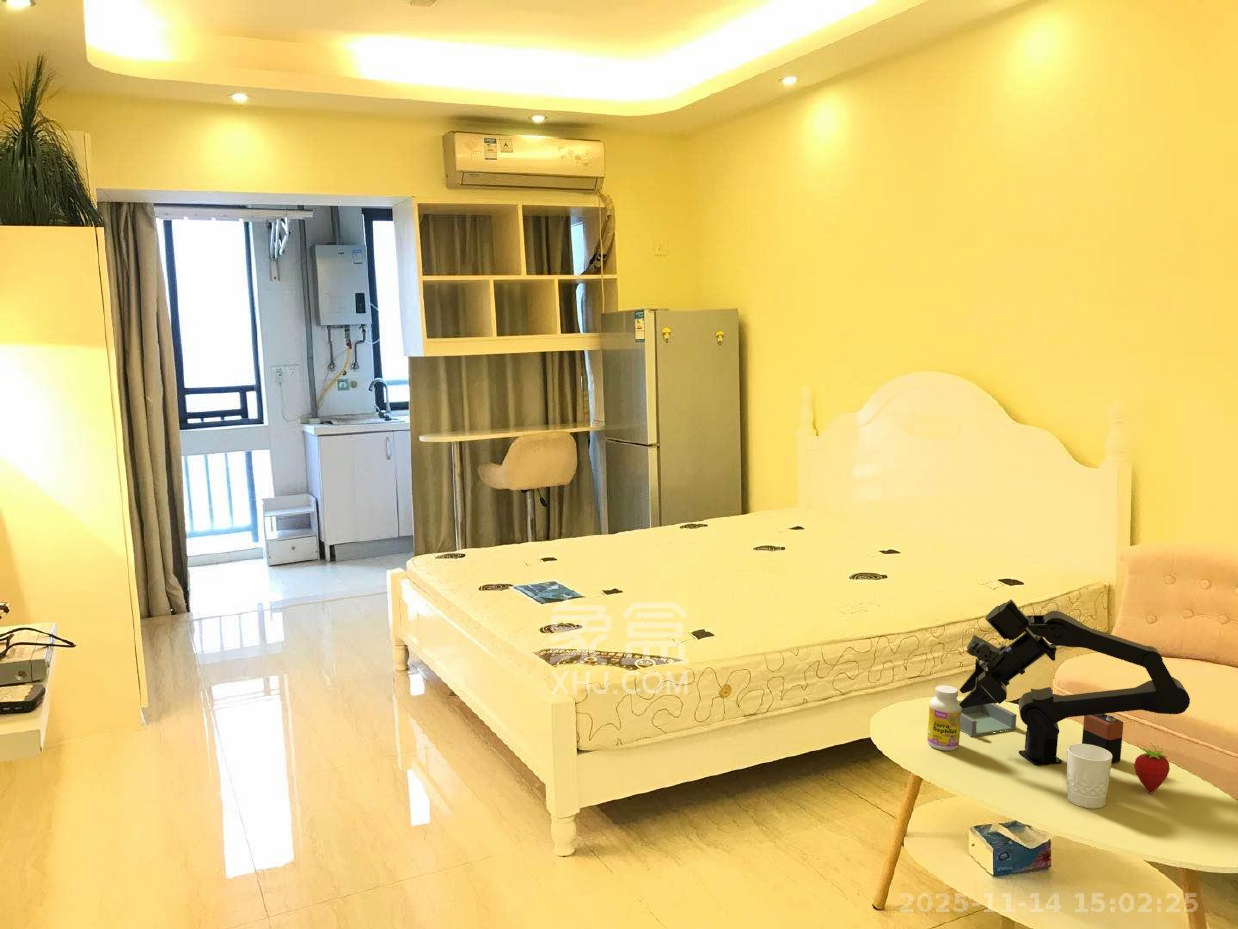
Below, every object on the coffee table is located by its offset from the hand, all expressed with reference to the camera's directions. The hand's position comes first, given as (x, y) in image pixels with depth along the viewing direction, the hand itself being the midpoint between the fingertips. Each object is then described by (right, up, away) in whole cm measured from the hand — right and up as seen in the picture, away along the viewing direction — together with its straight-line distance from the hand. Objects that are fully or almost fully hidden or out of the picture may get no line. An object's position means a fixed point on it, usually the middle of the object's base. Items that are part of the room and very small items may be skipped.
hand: (960, 699), depth 221 cm
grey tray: (+9, -9, +14) cm, 19 cm away
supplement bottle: (-3, -11, +3) cm, 12 cm away
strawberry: (+31, -14, -19) cm, 39 cm away
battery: (+29, -12, -3) cm, 31 cm away
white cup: (+17, -15, -23) cm, 32 cm away
